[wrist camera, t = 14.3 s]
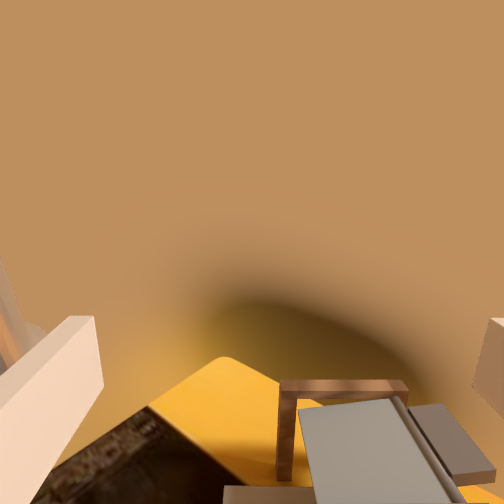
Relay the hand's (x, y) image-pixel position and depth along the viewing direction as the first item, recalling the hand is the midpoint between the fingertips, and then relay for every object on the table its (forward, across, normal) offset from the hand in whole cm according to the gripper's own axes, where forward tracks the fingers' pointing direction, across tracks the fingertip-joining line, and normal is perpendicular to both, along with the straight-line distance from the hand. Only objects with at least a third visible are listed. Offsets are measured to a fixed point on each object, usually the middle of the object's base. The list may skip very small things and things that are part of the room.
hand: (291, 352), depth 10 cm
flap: (+16, +14, -23) cm, 31 cm away
